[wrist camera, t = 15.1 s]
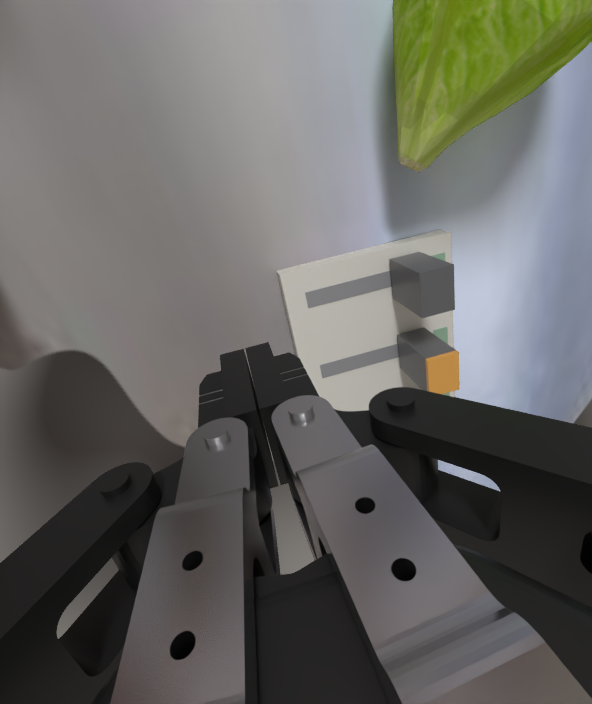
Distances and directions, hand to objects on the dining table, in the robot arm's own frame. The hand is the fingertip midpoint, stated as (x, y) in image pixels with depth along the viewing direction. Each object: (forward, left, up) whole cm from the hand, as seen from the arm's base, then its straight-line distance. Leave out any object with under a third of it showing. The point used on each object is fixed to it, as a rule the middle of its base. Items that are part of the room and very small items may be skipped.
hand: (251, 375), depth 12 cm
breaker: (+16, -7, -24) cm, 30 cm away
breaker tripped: (+16, -15, -24) cm, 32 cm away
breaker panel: (+12, -15, -27) cm, 33 cm away
